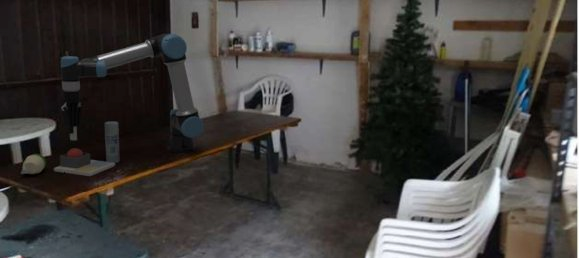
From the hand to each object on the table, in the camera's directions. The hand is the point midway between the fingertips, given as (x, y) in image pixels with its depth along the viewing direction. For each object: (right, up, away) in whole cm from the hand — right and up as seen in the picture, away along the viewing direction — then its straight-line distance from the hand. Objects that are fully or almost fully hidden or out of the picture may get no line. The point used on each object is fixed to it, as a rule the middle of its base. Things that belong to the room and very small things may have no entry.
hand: (73, 139), depth 232 cm
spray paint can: (+13, -12, +16) cm, 23 cm away
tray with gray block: (+4, -14, +3) cm, 15 cm away
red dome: (0, -11, +3) cm, 11 cm away
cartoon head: (-16, -15, -6) cm, 22 cm away
